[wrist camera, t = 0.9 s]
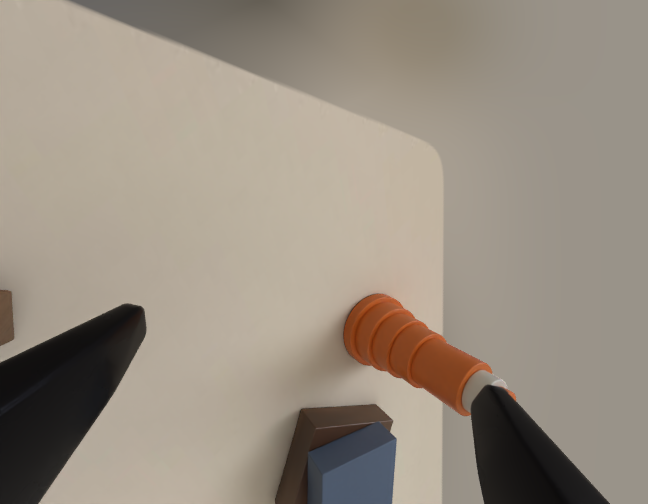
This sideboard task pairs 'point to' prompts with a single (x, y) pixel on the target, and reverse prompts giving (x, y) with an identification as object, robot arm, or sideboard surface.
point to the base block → (321, 442)
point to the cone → (415, 353)
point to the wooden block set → (6, 317)
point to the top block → (353, 468)
